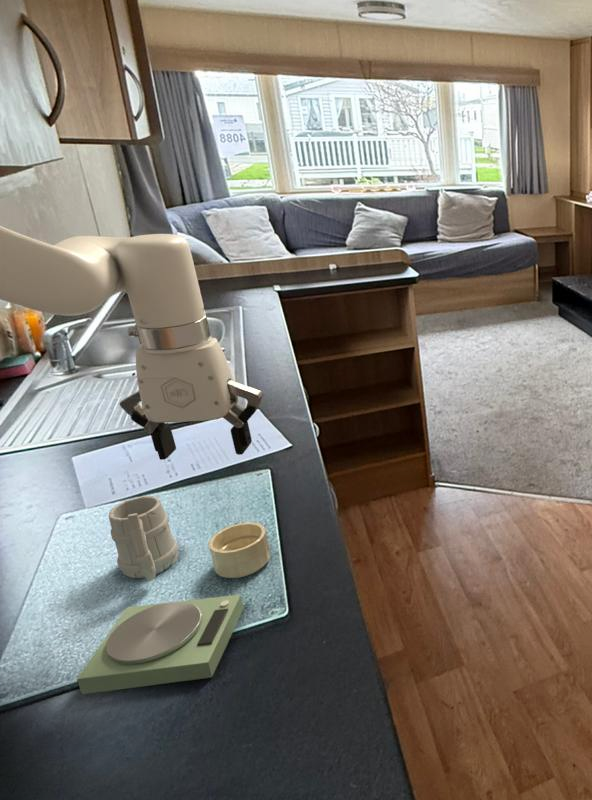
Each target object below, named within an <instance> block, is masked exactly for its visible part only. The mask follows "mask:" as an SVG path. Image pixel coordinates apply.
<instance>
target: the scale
mask: <svg viewBox="0 0 592 800" xmlns="http://www.w3.org/2000/svg"><path fill="white" fill-rule="evenodd" d="M178 602H187V603H191V604H193V605H195V606H197V607H198V608H199V610H200V612H201V616H202V622H201V625H200V627H199V629H198V631H197V632H196V633H195V635H194V636H193V637H192V638H191V639H190V640H189V641H187V642H186V643H185V644H184V645H182V646H181V647H179V648H178V649H176V650H175V651H173V652H171V653H169V654H167V655H165V656H163V657H160V658H158V659H155V660H152V661H148V662H144V663H138V664H122V663H118V662H115V661H113V660H112V659H111V658H110V657H109V656H108V653H107V650H106V644H107V641H108V638H109V637H110V635H111V634H112V632H113V631H114V630H115V629H116V628H117V627H118V626H119V625H120V624H121V623H123V622H124V621H125V620H127V619H128V618H130V617H131V616H133V615H135V614H137V613H139V612H141V611H143V610H145V609H147V608H150V607H153V606H156V605H159V604H164V603H165V602H163V603H162V602H161V603H154V604H145V605H136V606H128V607H126V608H125V609H124V611H122V613H121V615H120V616H119V618H118V619H117V621H116V622H115V624H114V625H113V626H112V628H111V629H110V631H109V632H108V633H107V634H106V636H105V638H104V640H103V641H101V643H100V645H99V646H98V648H97V649H96V651H95V652H94V654H93V655H92V657H90V659H89V660H88V662H87V663H86V664H85V667H84V668H83V669H82V670H81V672H80V673H79V675H78V676H77V678H76V681H77V685H78V687H79V689H80V693H81V694H82V695H89V694H96V693H102V692H111V691H119V690H127V689H133V688H134V689H135V688H141V687H142V688H143V687H148V686H149V687H150V686H156V685H157V686H158V685H164V684H170V683H171V684H172V683H180V682H187V681H195V680H203V679H210V678H211V679H212V678H213V676H214V674H215V672H216V670H217V667H218V666H219V663H220V661H221V659H222V657H223V655H224V652H225V650H226V648H227V646H228V644H229V642H230V639H231V637H232V635H233V633H234V631H235V628H236V626H237V624H238V622H239V620H240V619H241V616H242V614H243V612H244V610H245V607H244V604H243V603H244V602H243V599H242V596H241V594H234V595H226V596H218V597H217V596H215V597H208V598H206V597H205V598H197V599H189V600H188V599H187V600H181V601H178Z"/></svg>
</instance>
